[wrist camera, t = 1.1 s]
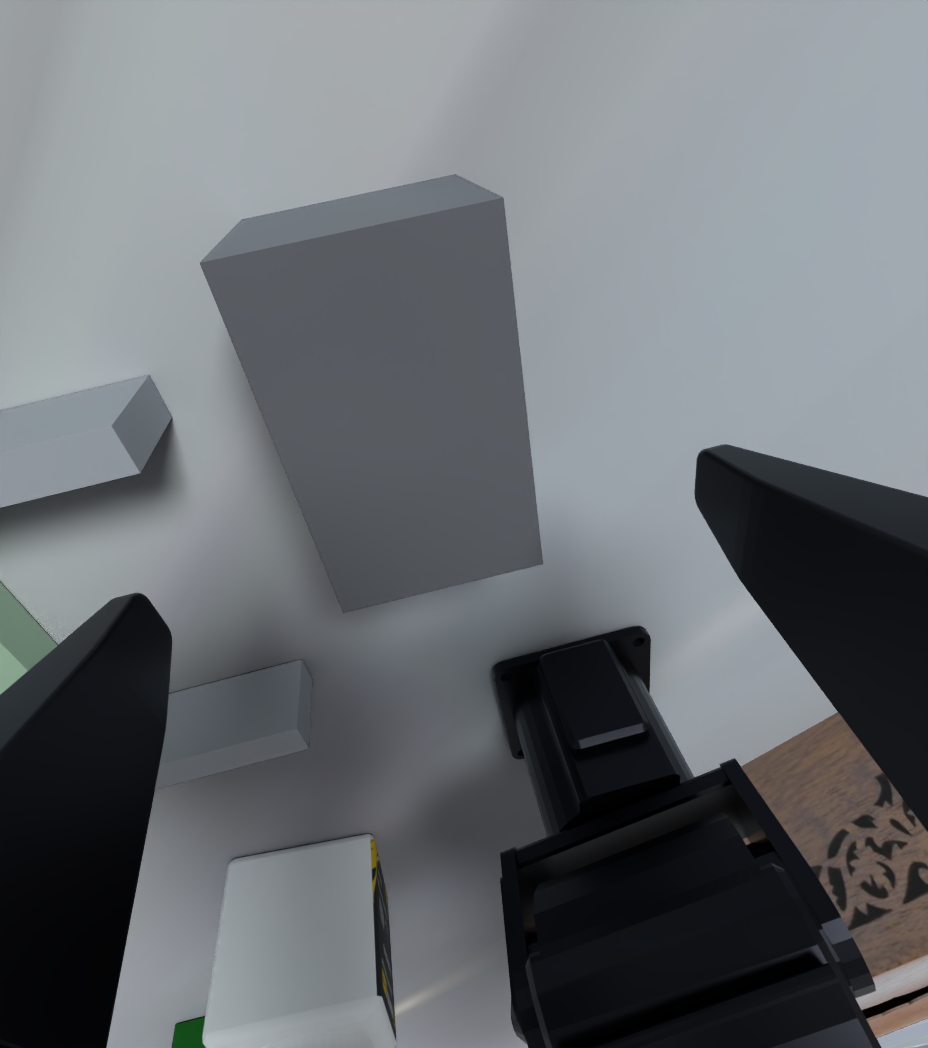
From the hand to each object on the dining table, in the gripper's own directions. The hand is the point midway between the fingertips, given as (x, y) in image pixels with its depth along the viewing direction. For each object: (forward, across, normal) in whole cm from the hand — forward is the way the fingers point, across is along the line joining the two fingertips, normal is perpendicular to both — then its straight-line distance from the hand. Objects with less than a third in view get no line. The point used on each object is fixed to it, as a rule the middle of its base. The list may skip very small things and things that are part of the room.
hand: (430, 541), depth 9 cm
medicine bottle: (+8, +11, +26) cm, 29 cm away
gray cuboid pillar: (+8, 0, 0) cm, 8 cm away
